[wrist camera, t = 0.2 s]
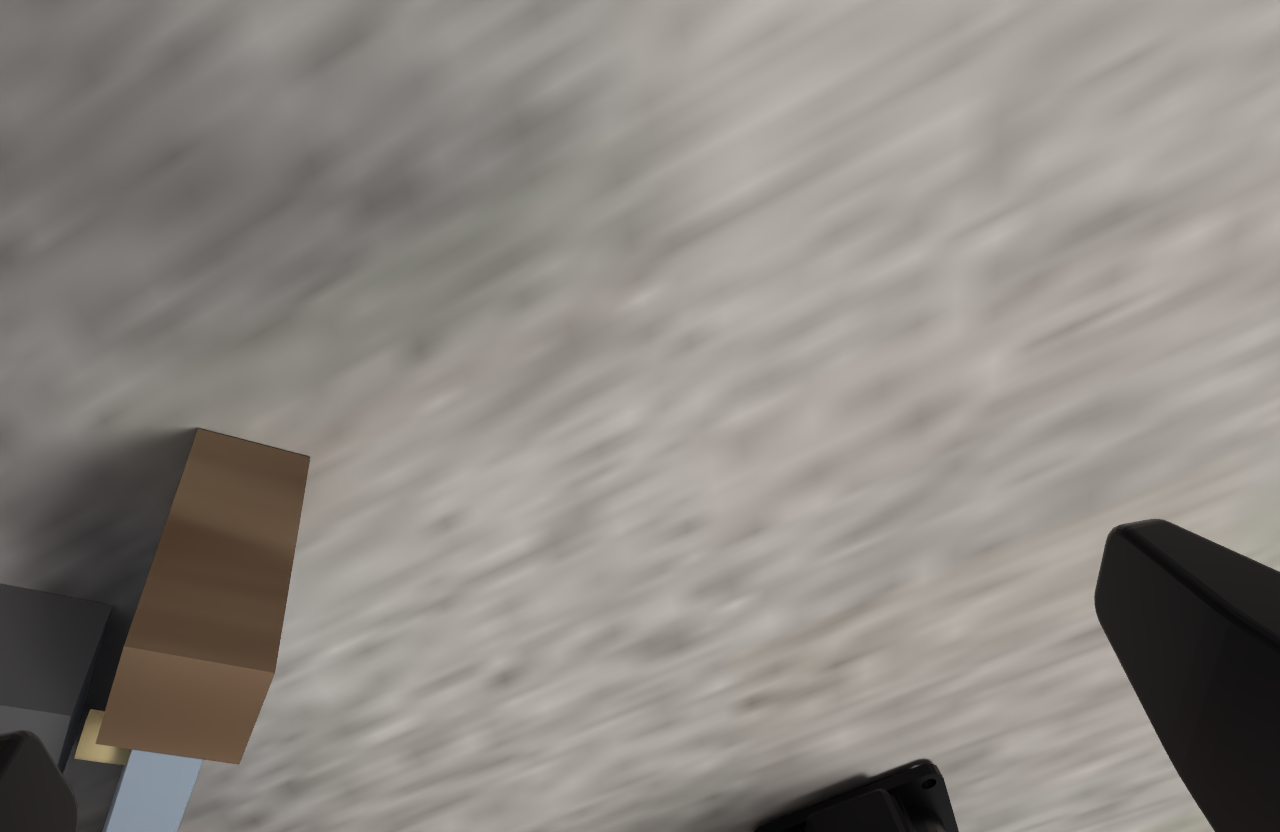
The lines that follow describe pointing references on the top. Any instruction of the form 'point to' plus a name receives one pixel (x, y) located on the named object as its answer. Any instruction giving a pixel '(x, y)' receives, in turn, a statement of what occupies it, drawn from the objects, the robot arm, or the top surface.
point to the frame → (211, 605)
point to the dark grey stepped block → (47, 663)
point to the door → (141, 783)
